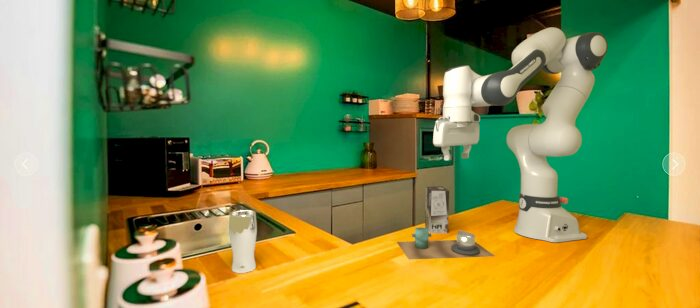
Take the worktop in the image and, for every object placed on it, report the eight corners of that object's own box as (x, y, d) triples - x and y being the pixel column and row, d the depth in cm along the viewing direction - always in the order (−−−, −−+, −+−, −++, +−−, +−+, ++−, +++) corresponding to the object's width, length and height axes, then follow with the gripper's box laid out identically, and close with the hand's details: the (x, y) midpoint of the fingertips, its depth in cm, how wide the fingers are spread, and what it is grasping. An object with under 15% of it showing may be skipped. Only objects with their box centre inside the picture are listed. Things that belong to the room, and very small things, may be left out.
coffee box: (448, 236, 112) (449, 190, 111) (430, 236, 113) (431, 190, 111) (441, 228, 121) (442, 185, 120) (424, 228, 122) (425, 185, 120)
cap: (477, 249, 96) (478, 233, 95) (467, 252, 93) (468, 236, 92) (463, 244, 100) (463, 228, 99) (453, 247, 97) (453, 231, 96)
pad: (471, 245, 101) (471, 243, 100) (484, 255, 93) (485, 253, 93) (446, 246, 100) (446, 244, 100) (458, 256, 92) (458, 254, 92)
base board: (471, 243, 106) (472, 223, 105) (495, 260, 92) (495, 237, 91) (396, 245, 103) (396, 225, 103) (408, 263, 89) (409, 240, 89)
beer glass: (242, 276, 81) (240, 217, 80) (224, 270, 85) (222, 213, 84) (263, 266, 87) (262, 211, 86) (245, 261, 91) (244, 208, 90)
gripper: (444, 116, 97) (444, 162, 98) (483, 116, 109) (482, 157, 110) (428, 117, 102) (428, 161, 103) (466, 117, 114) (466, 156, 115)
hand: (456, 159), depth 106 cm, fingers open, 8 cm apart
